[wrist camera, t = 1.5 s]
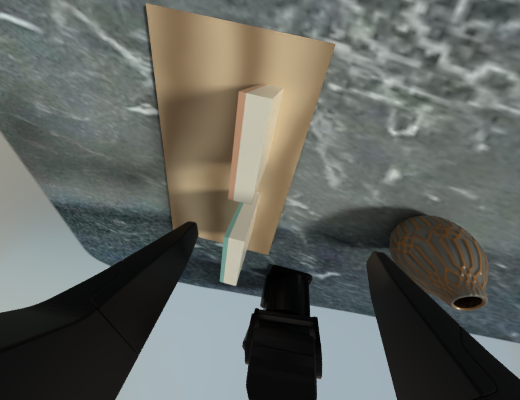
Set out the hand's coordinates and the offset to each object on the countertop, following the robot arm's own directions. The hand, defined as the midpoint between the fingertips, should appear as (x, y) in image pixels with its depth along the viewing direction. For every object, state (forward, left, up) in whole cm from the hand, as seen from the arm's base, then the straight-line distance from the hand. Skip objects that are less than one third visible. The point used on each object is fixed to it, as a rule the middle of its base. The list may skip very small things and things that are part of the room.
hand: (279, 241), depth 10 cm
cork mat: (+7, +3, -13) cm, 14 cm away
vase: (-16, +5, -13) cm, 21 cm away
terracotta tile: (+3, -2, -12) cm, 13 cm away
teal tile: (+3, +9, -12) cm, 15 cm away
